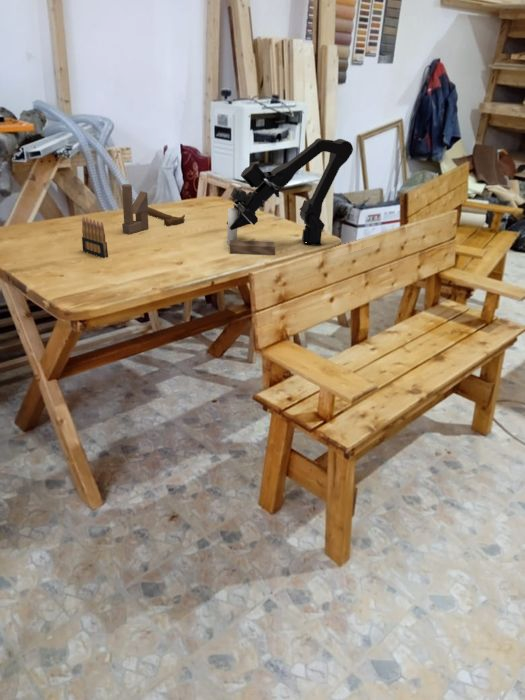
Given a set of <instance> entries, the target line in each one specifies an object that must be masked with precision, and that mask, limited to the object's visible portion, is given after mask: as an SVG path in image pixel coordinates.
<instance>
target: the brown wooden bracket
mask: <svg viewBox="0 0 525 700" xmlns="http://www.w3.org/2000/svg"><path fill="white" fill-rule="evenodd" d="M121 189H122V190H121V192H122V208H123V209H122V210H123V223H122V224H121V225H122V233H124V234H127V235H131V234H135V233H138V232H141V231H142V230H143V231H146V230H148V229H149V215H148V207H149V205H148V204H149V201H148V200H149V198H148V192H145V191H142V190H140V191H139V193H138V195H137V197H136V198H135V200H134V201H133V185H132V184H129V183H124V184H121ZM134 216H135V220H134Z"/></svg>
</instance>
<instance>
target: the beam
mask: <svg viewBox="0 0 525 700" xmlns="http://www.w3.org/2000/svg"><path fill="white" fill-rule="evenodd" d="M275 250H276V245H275V242H274V241H266V240H265V241H264V240H263V241H262V240H238V239H237V240H230V245H229V254H231V255H232V254H238V255H263V256H264V255H266V256H267V255H268V256H270V255H271V256H275V254H276V253H275V252H276V251H275Z"/></svg>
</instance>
